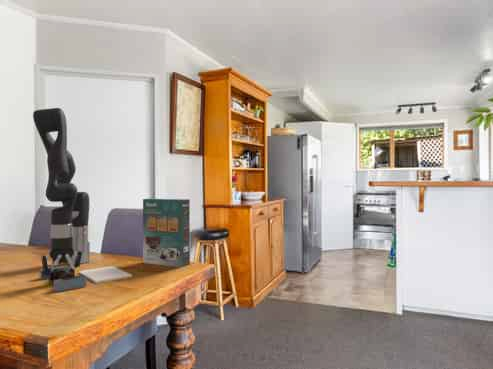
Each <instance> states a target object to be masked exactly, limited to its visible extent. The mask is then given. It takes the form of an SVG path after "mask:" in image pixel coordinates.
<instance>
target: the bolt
mask: <svg viewBox="0 0 493 369" xmlns="http://www.w3.org/2000/svg"><path fill="white" fill-rule="evenodd" d="M70 277H76V274H75V273H74V274H73V273H72V272H68V273H66V271H65V270H64V269H62V270H56V271H54V280H58V279H64V278H70Z"/></svg>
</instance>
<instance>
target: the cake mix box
mask: <svg viewBox="0 0 493 369" xmlns="http://www.w3.org/2000/svg"><path fill="white" fill-rule="evenodd" d="M190 202H191V201H190V198H189V199H188V198H143V199H142V255H143V256H142V261H143V262H142V263H143V264H151V265H158V266H160V265H161V266H169V267H177V268H183V267H186V266H188V265H190V264H191V262H190V260H191V259H190V257H191V256H190V250H191V249H190V243H191V242H190V238H191V237H190V236H191V235H190V234H191V233H190V227H191V226H190V220H191V219H190V216H191V215H190V210H191V208H190Z"/></svg>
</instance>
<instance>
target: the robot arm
mask: <svg viewBox="0 0 493 369" xmlns="http://www.w3.org/2000/svg"><path fill="white" fill-rule="evenodd" d="M32 119H33V122H34V125H35V127H36V130H37V132H38V134H39V138H40V140H41V141H42V144H43V146H44V149H45V152H46V155H47V158H46V161H47V162H46V163H47V171H48V180H47V185H46V189H45V196H46V199H47V200H48V201H49V202H51V203H52V202H53V203H56V202H57V203H59V202H60V203H61V204H62V206H60V207H56V208H53V209H52V210H51V213H50V216H51V217H50V222H51V223H50V251H49V253H47V254H41V256H40V260H41V264H42V269H43V270H44V271H45V272H49V279H48V280H49V281H50V282H51V283H53V284H54V280H55V279H54V270H55V268H56V267H58V264H62V263H64V264H65V263H66V264H67V266H69V272H72V273H73V274H74V275H75V269H76V268H80V265H81V264H86V263H89V262H90V261H91V260H90V259H91V257H90V255H91V254H90V247H91V246H90V245H91V244H90V243H91V242H90V241H89V216H90V196H89V193H88V192H86V191H78V188H77V187H78V186H76V184H74V183H72V180H73V178H74V176H75V173H76V170H77V168H76V165H75V160H74V158H73V155H72V153H71V152H69V150H68V147H67V145H68V126H67V117H66V114H65V112H64V111H63V109H62V108H60V107H51V108H43V109H37V110H34V111H33V113H32ZM55 132H57V135H56V138H55V139H54V138H53V137H52V135H51V134H50V133H55ZM73 212H78V214H77V215H76V216H75V217H73ZM49 258H50V259H51V260H52V261H51V262H50V266H48V261H49ZM48 267H50V268H48Z"/></svg>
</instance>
